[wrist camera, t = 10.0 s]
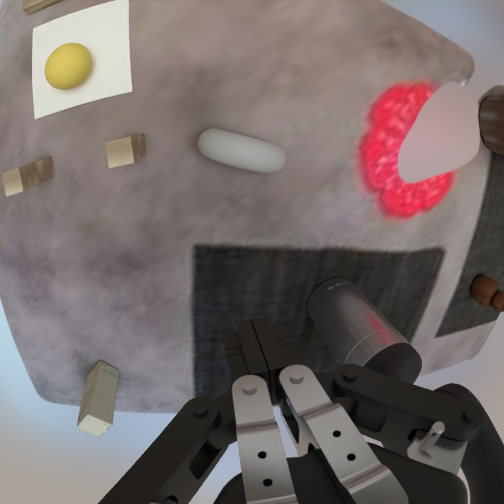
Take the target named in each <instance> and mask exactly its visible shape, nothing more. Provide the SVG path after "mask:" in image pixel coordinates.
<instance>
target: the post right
mask: <svg viewBox="0 0 504 504" xmlns="http://www.w3.org/2000/svg"><path fill="white" fill-rule="evenodd" d="M105 145H106V152H107V159H108V165H109V168H112V167H117V166H122V165H127V164H132V163H135V162H136V161H138V160H139V159H140V158H142V157H143V156H145V155H146V148H145V141H144V134H142V135H136V136H131V137H126V138H122V139H117V140H113V141H108V142H105Z"/></svg>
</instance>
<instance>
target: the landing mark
mask: <svg viewBox="0 0 504 504" xmlns="http://www.w3.org/2000/svg"><path fill="white" fill-rule="evenodd" d="M67 43H79V44H81V45H83V46H85V47H86V48H87V49H88V50H89V52H90V54H91V58H92V65H91V69H90V72H89V74H88V75H87V77H86V78H85V79H84V81H83V82H82V83H80V84H79V85H77V86H76V87H74V88H71V89H67V90H60V89H56V88H54V87H52V86H51V85H50V84H49V83H48V82H47V80H46V77H45V64H46V61H47V59H48V57H49V56H50V54H51V53H52V52H53V51H54V50H55V49H56V48H58V47H59V46H61V45H64V44H67ZM32 80H33V101H34V114H35V120H36V119H38V118H41V117H44V116H47V115H50V114H52V113H55V112H58V111H62V110H65V109H68V108H71V107H74V106H78V105H81V104H85V103H88V102H92V101H96V100H99V99H103V98H107V97H111V96H116V95H120V94H124V93H129V92H133V91H132V78H131V62H130V39H129V0H116V1H111V2H108V3H104V4H100V5H97V6H93V7H90V8H87V9H83V10H80V11H77V12H74V13H71V14H69V15H66V16H63V17H60V18H58V19H55V20H52V21H50V22H47V23H45V24H43V25H40V26H38V27H36V28H34V29H33V49H32Z"/></svg>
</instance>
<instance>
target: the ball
mask: <svg viewBox="0 0 504 504" xmlns="http://www.w3.org/2000/svg"><path fill="white" fill-rule="evenodd" d="M91 65H92V58H91V54H90V52H89V50H88V49H87V48H86V47H85V46H83V45H81V44H79V43H67V44H64V45H61V46H59V47H58V48H56V49H55V50H54V51H53V52H52V53H51V54H50V56H49V57H48V59H47V61H46V64H45V77H46V80H47V82H48V83H49V84H50V85H51V86H52V87H54V88H56V89H60V90H67V89H71V88H74V87H76V86H77V85H79V84H80V83H82V82H83V81H84V79H85V78H86V77H87V75H88V74H89V72H90V69H91Z"/></svg>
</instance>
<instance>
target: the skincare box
mask: <svg viewBox="0 0 504 504" xmlns="http://www.w3.org/2000/svg"><path fill="white" fill-rule="evenodd" d="M118 376H119V370H117V369H116V368H114V367H112V366H110V365H108V364H106V363H104V362H102V361H100V360H99V361H98V362H97V363H96V365H95V366H94V367H93V369H92V370H91V371H90V373H89V374H88V376H87V379H86V383H85V388H84V392H83V397H82V402H81V407H80V412H79V417H78V423H77V428H78V429H81V430H83V431H85V432H87V433H89V434H92V435H94V436H96V437H100V436H101V435H103V434H104V433H105V432H106V431H107V430H108V429H109V428H110V427H111V426H112V424H113V415H114V406H115V398H116V390H117V383H118Z"/></svg>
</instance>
